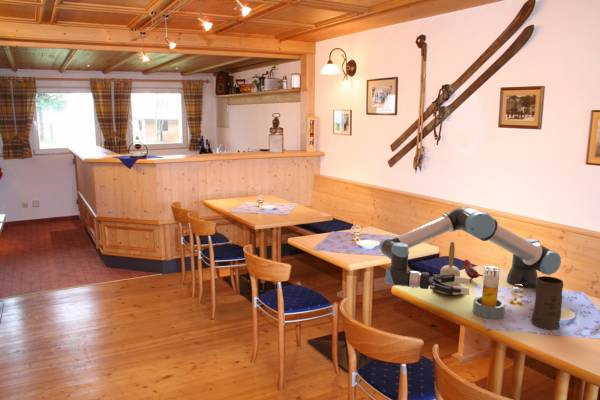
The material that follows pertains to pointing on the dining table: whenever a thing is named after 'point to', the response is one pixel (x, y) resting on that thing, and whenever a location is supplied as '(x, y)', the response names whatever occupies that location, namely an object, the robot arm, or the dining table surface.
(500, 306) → the round grey ashtray
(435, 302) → the dining table surface
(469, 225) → the robot arm
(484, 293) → the glass of beer
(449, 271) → the handbell
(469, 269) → the decorative bird figurine
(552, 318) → the beer stein
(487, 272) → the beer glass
